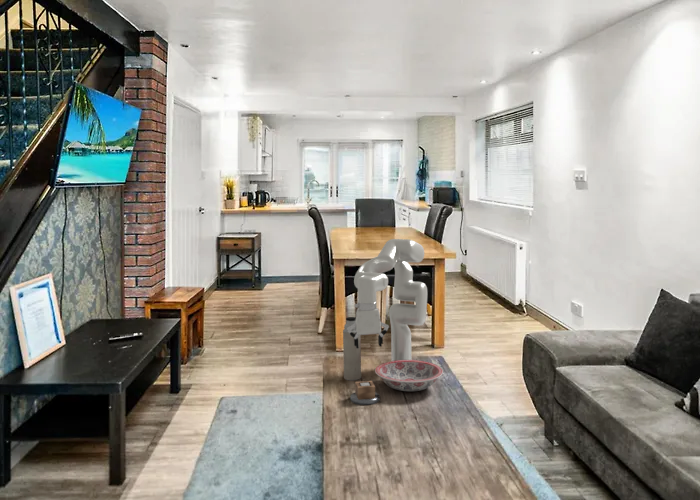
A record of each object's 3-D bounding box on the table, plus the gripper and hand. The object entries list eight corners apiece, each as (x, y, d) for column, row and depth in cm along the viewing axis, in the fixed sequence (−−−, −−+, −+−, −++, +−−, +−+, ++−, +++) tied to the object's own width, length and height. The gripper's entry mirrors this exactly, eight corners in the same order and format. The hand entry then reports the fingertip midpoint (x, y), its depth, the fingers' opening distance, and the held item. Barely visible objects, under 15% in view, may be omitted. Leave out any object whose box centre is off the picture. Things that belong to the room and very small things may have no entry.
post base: (348, 395, 236) (348, 380, 235) (376, 393, 238) (376, 378, 237) (352, 406, 224) (352, 390, 224) (382, 403, 226) (382, 388, 225)
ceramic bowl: (446, 379, 254) (446, 362, 253) (438, 403, 226) (438, 383, 225) (383, 374, 262) (382, 358, 261) (368, 397, 234) (368, 378, 233)
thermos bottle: (361, 374, 262) (360, 315, 259) (361, 380, 254) (360, 319, 252) (344, 374, 263) (343, 315, 260) (343, 380, 255) (342, 319, 252)
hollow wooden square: (358, 399, 227) (358, 387, 227) (355, 393, 234) (355, 381, 233) (375, 398, 228) (375, 386, 228) (372, 392, 235) (371, 380, 234)
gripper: (347, 309, 225) (349, 351, 227) (390, 306, 227) (391, 347, 230) (345, 305, 232) (346, 345, 235) (386, 302, 235) (387, 342, 237)
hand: (368, 346), depth 232 cm, fingers open, 9 cm apart
